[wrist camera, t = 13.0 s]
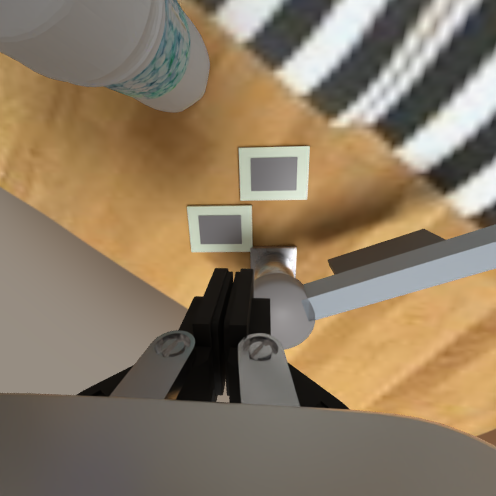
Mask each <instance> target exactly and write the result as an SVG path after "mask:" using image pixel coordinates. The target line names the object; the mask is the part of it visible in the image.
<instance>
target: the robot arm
mask: <svg viewBox="0 0 496 496" xmlns="http://www.w3.org/2000/svg"><path fill="white" fill-rule="evenodd" d="M225 381H226V387H227V395H228V396H230V397H229V399H230V403H224V402H216V400H217V396H218V395H223V392H224V386H225ZM0 496H496V446H494V445H492V444H490V443H488V442H486V441H484V440H482V439H480V438H478V437H476V436H473V435H471V434H469V433H466V432H463V431H460V430H458V429H455V428H452V427H450V426H447V425H444V424H441V423H437V422H433V421H429V420H425V419H421V418H417V417H411V416H405V415H399V414H392V413H381V412H370V411H360V410H350V409H349V408H348V407H347V406H345V405H344V404H343V403H342V402H341V401H339V400H338V399H337V398H335V397H334V396H333V395H331V394H330V393H329V392H327V391H326V390H325V389H323V388H322V387H320V386H319V385H318V384H316V383H315V382H314V381H312V380H311V379H310V378H308V377H307V376H306V375H304V374H303V373H301V372H300V371H299V370H297V369H296V368H295V367H293V366H292V365H291V364H289V363H288V362H287V360H286V356H285V353H284V349H283V346H282V344H281V342H280V341H279V340H278V339H277V338H275V337H274V336H272V335H271V314H270V298H254V271H253V269H241V271H240V272H236V274H235V278H234V282H233V272H228V268H215V270H214V272H213V275H212V277H211V279H210V282H209V284H208V287H207V289H206V292H205V294H204V296H203V297H198V296H196V297H194V299H193V301H192V303H191V305H190V307H189V309H188V311H187V313H186V316H185V318H184V320H183V322H182V324H181V326H180V328H179V330H178V331H177V330H176V331H170V332H167V333H164V334H162V335H161V336H159V337H157V338H156V339H155V340H154V341H153V342H152V343H151V344H150V346H149V347H148V348H147V350H146V351H145V352H144V353H143V355H142V356H141V357H140V358H139V359H138V361H137V362H136V363H135V364H134V365H133V366H131V367H129V368H127V369H126V370H123V371H121V372H119V373H117V374H116V375H113V376H111V377H109V378H108V379H105V380H103V381H101V382H99V383H97V384H96V385H94V386H91V387H90V388H88V389H86V390H84V391H82V392H80V393H79V394H77V395H58V394H35V393H0Z"/></svg>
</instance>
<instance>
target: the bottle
mask: <svg viewBox="0 0 496 496" xmlns="http://www.w3.org/2000/svg"><path fill="white" fill-rule="evenodd" d="M0 52H1V53H3V54H5V55H7V56H9V57H11V58H13V59H15V60H17V61H19V62H20V63H22V64H23V65H25V66H26V67H28V68H30V69H31V70H33V71H35V72H37V73H39V74H41V75H43V76H46V77H48V78H52V79H55V80H60V81H64V82H69V83H72V84H75V85H80V86H86V87H101V86H104V87H107V88H109V89H112V90H114V91H117V92H120V93H122V94H125V95H127V96H130V97H133V98H135V99H136V100H138V101H140V102H141V103H143V104H145V105H147V106H149V107H151V108H154V109H156V110H160V111H164V112H181V111H183V110H185V109H187V108H188V107H190V106H191V105H193V104H194V103H195V102H197V101H198V100H200V99H201V98H202V96H203V95H204V93H205V90H206V85H207V81H208V75H209V69H210V61H209V56H208V52H207V49H206V46H205V44H204V42H203V40H202V37H201V35H200V34H199V32H198V30H197V29H196V27H195V25H194V24H193V23H192V21H191V20H190V19H189V18H188V16H187V15H186V14H185V13H184V11H183V10H182V9H181V7H180V5H179V4H178V2H177V0H0Z"/></svg>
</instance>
